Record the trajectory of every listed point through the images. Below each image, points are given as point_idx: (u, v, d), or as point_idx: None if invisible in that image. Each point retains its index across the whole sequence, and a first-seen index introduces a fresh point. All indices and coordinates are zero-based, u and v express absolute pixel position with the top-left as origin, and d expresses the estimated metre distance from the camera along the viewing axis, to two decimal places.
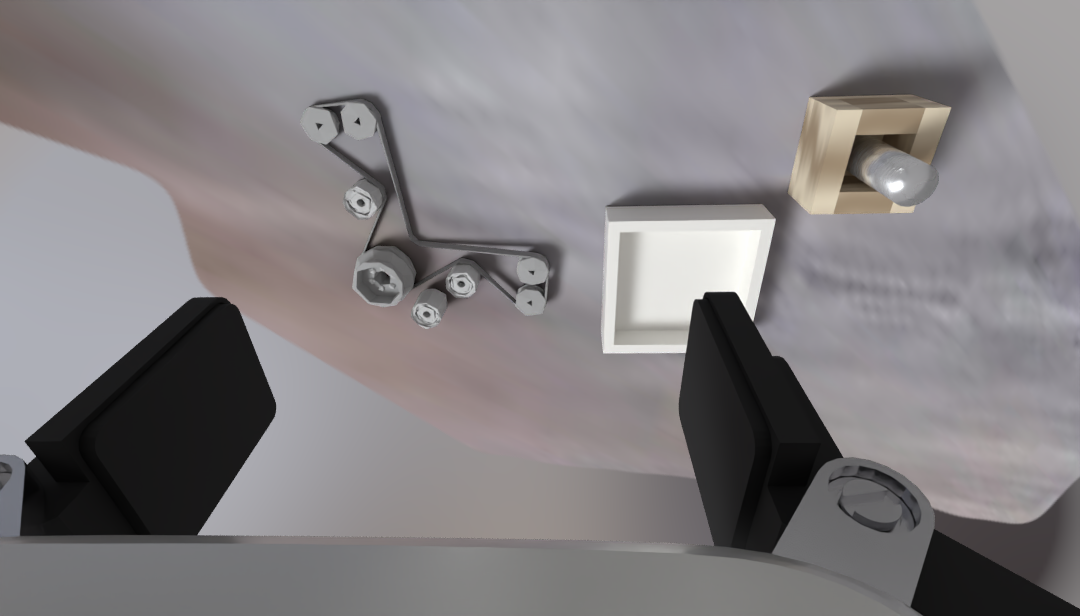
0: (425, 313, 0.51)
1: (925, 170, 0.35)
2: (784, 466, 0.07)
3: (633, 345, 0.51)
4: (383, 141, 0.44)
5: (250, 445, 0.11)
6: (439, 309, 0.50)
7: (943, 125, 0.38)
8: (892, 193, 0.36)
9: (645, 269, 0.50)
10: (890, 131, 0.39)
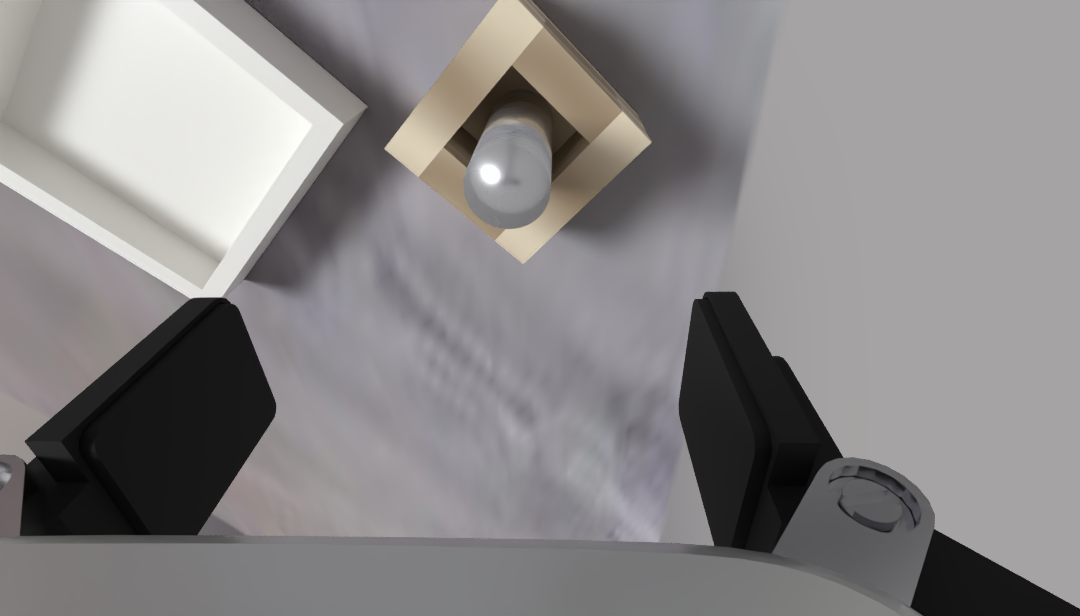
0: None
1: (534, 174, 0.18)
2: (784, 466, 0.07)
3: None
4: None
5: (250, 445, 0.11)
6: None
7: (627, 162, 0.22)
8: (468, 174, 0.18)
9: (109, 52, 0.24)
10: (560, 106, 0.21)
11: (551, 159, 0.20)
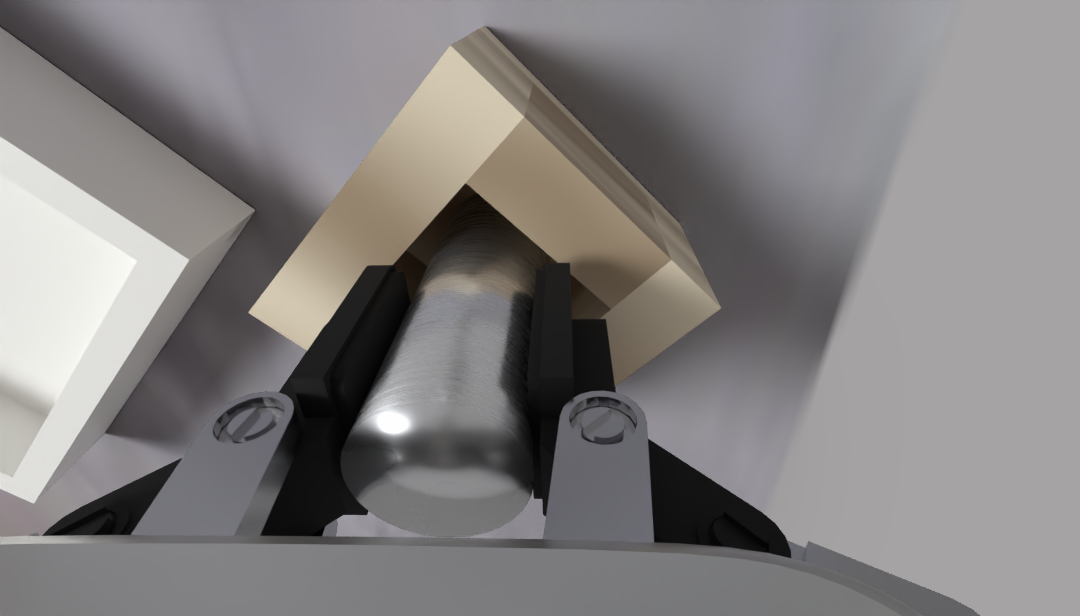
0: None
1: (498, 457, 0.08)
2: (550, 399, 0.08)
3: None
4: None
5: None
6: None
7: (675, 337, 0.13)
8: (349, 452, 0.08)
9: None
10: (557, 251, 0.12)
11: None
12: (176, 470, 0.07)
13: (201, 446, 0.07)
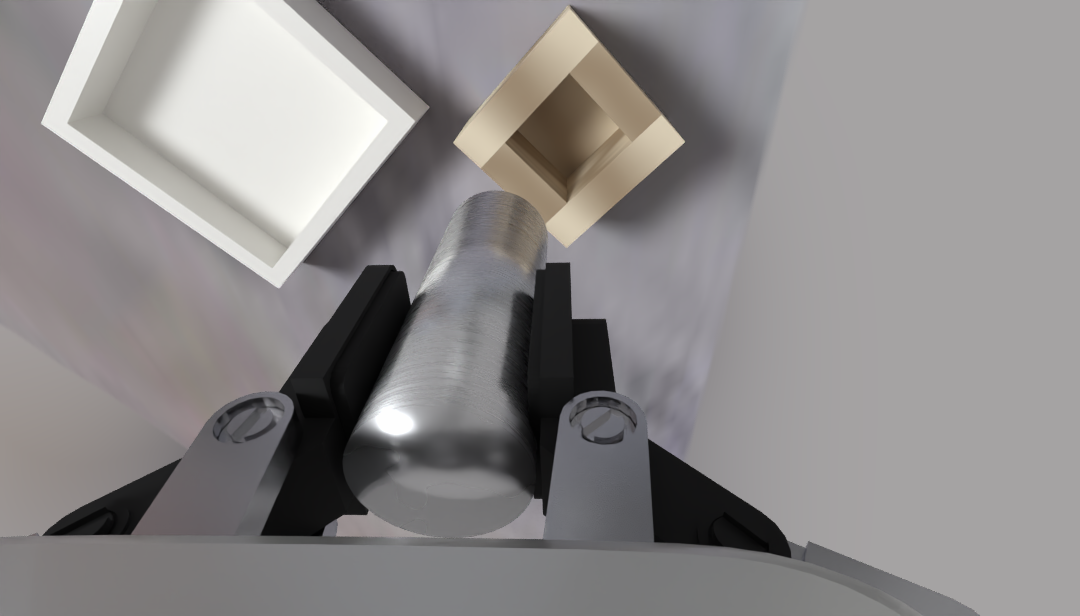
0: None
1: (499, 457, 0.08)
2: (550, 399, 0.08)
3: (104, 150, 0.28)
4: None
5: None
6: None
7: (663, 158, 0.26)
8: (352, 453, 0.08)
9: (207, 55, 0.28)
10: (608, 109, 0.25)
11: None
12: (176, 470, 0.07)
13: (201, 446, 0.07)
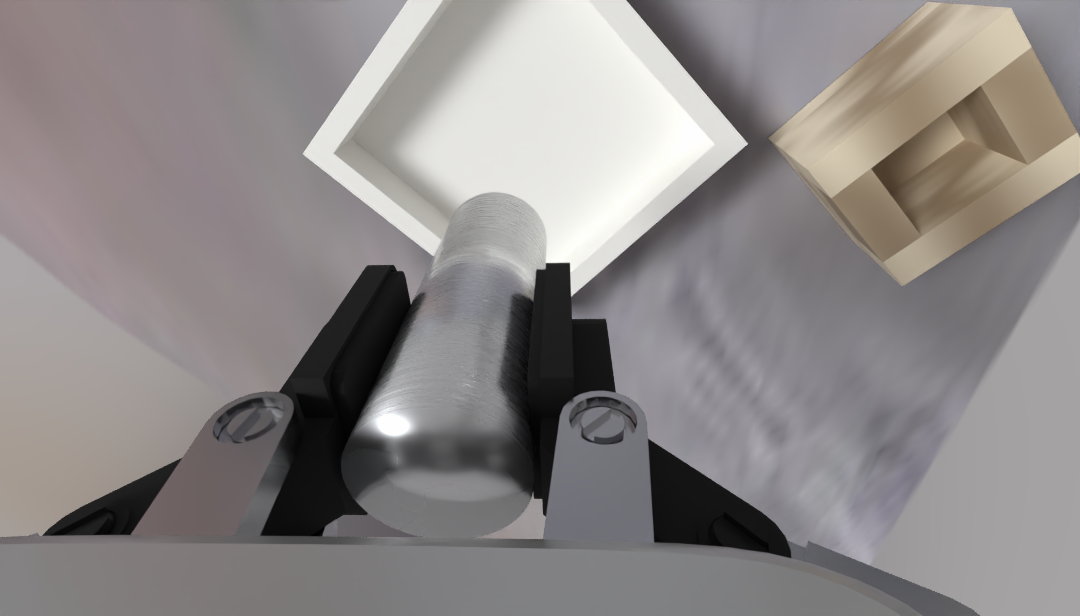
0: None
1: (498, 460, 0.08)
2: (550, 399, 0.08)
3: (368, 183, 0.24)
4: None
5: None
6: None
7: (1058, 184, 0.22)
8: (350, 456, 0.08)
9: (489, 70, 0.24)
10: (1013, 127, 0.21)
11: None
12: (176, 470, 0.07)
13: (201, 446, 0.07)
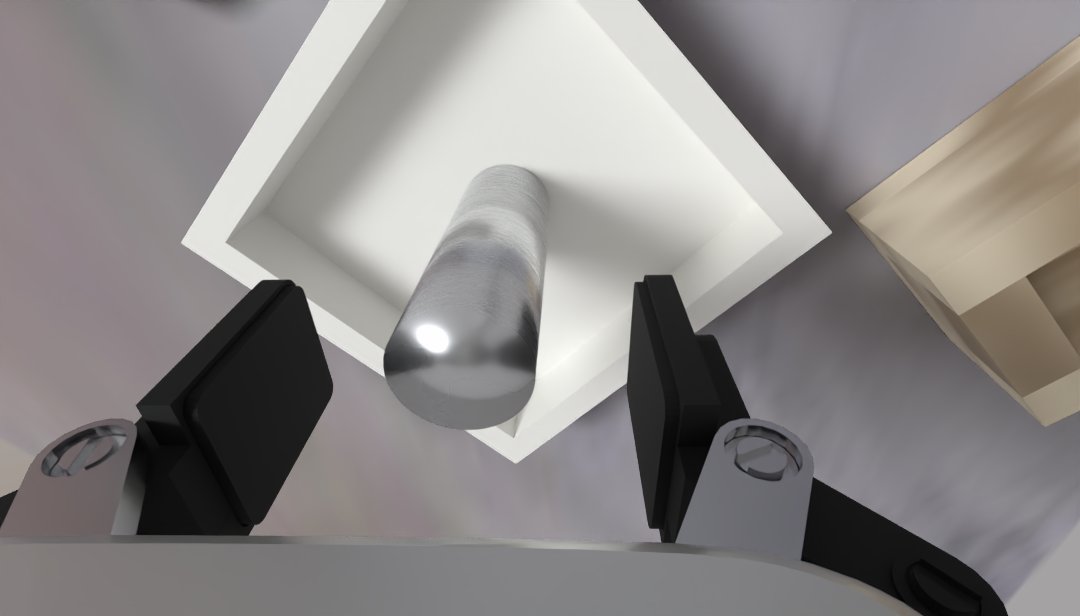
0: None
1: (506, 356, 0.10)
2: (691, 427, 0.07)
3: None
4: None
5: (313, 421, 0.11)
6: None
7: None
8: (390, 351, 0.10)
9: (453, 121, 0.16)
10: None
11: (541, 299, 0.12)
12: (9, 515, 0.06)
13: (32, 488, 0.07)
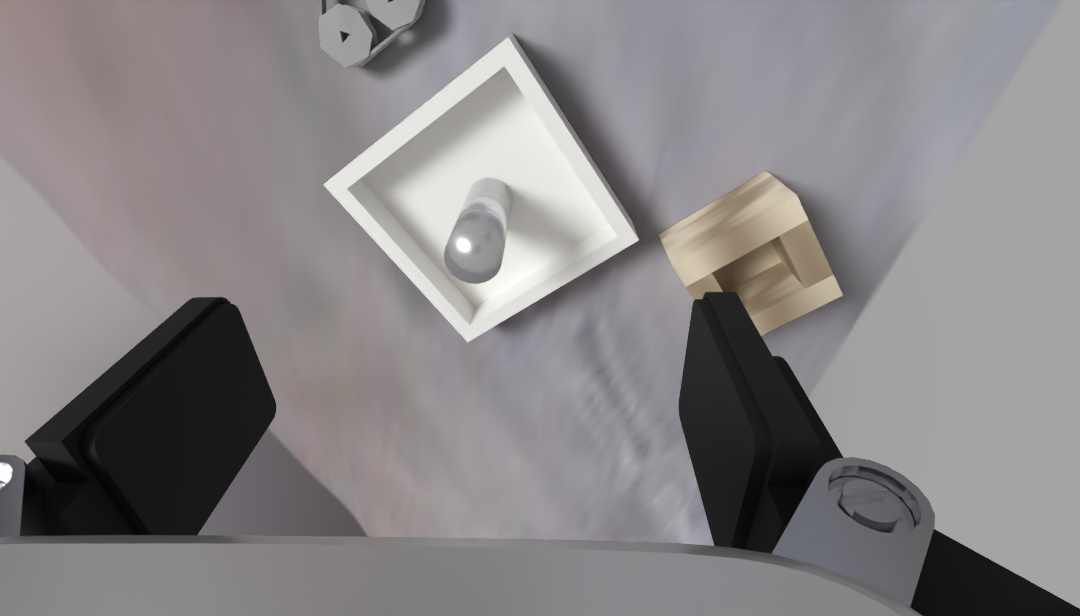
0: None
1: (493, 253, 0.27)
2: (784, 466, 0.07)
3: (368, 214, 0.33)
4: None
5: (250, 445, 0.11)
6: None
7: (823, 303, 0.34)
8: (449, 244, 0.27)
9: (472, 152, 0.33)
10: (797, 264, 0.32)
11: (505, 240, 0.29)
12: None
13: None
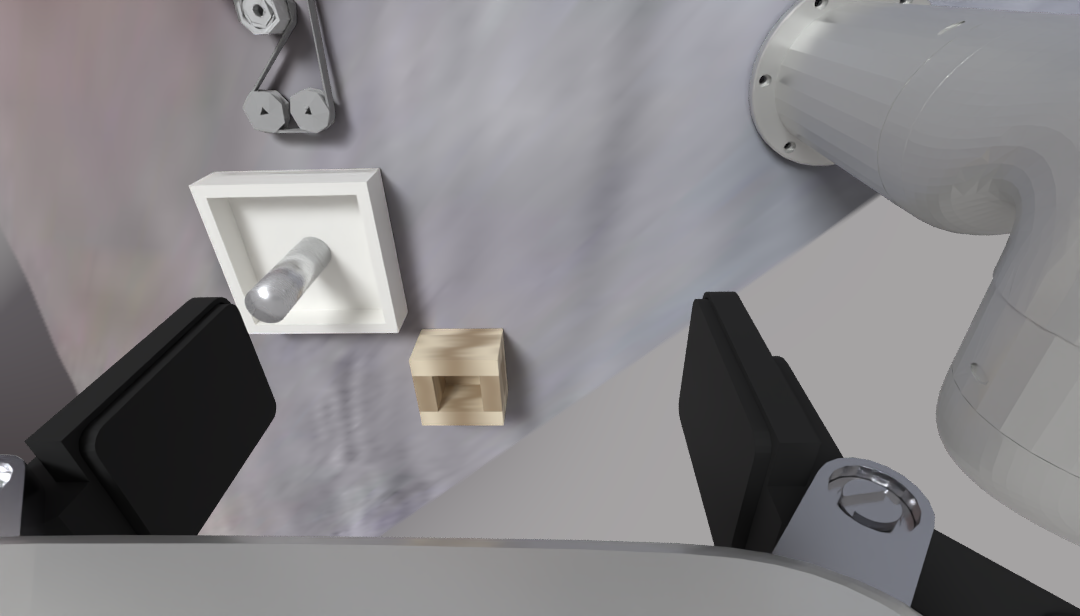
0: None
1: (280, 310, 0.39)
2: (784, 466, 0.07)
3: (214, 220, 0.42)
4: None
5: (250, 445, 0.11)
6: None
7: (490, 424, 0.51)
8: (253, 291, 0.38)
9: (316, 219, 0.44)
10: (483, 396, 0.49)
11: (299, 298, 0.41)
12: None
13: None
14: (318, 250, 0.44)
